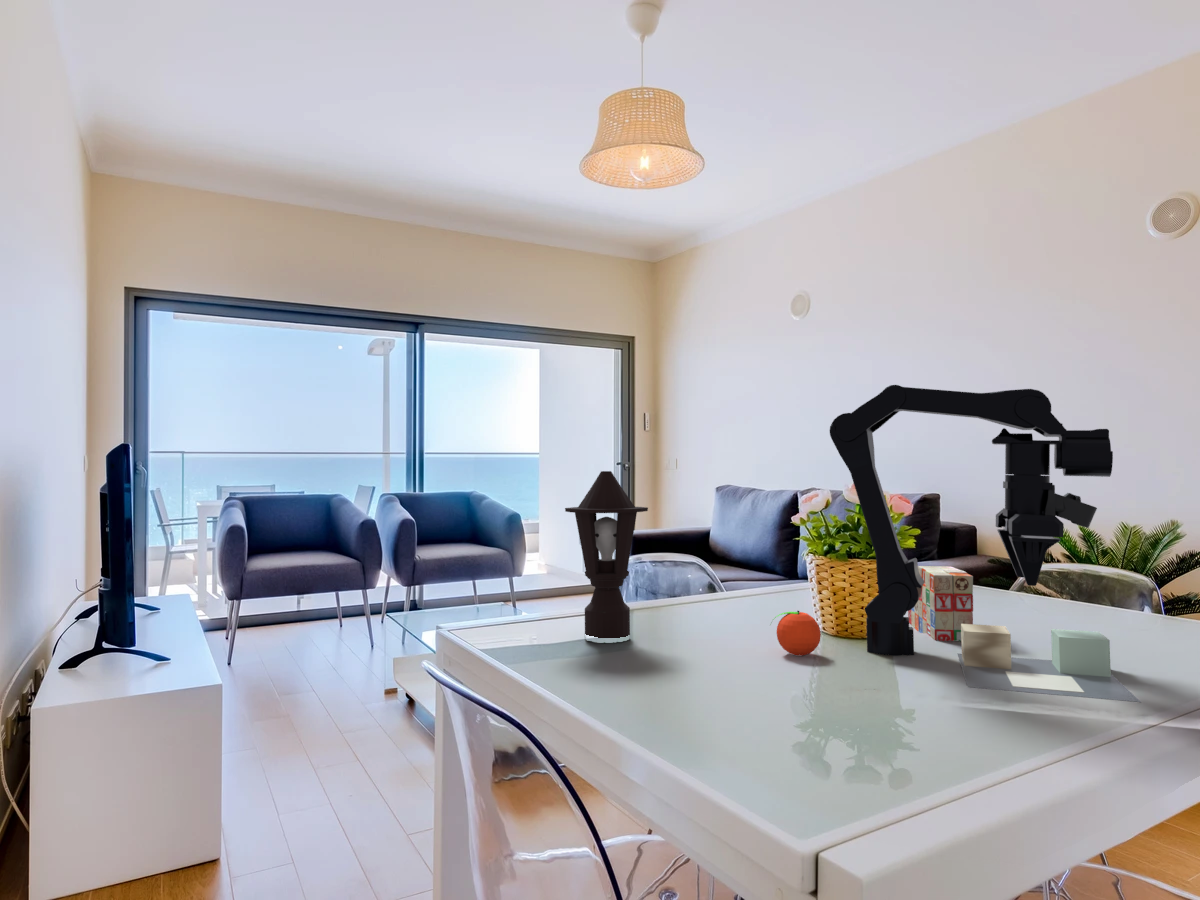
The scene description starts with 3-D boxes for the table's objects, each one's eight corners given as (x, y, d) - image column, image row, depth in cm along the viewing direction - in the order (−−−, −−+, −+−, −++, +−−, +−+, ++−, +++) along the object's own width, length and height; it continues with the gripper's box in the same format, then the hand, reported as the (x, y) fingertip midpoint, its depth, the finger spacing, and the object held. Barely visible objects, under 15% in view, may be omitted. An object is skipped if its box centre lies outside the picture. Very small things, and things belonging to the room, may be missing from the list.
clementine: (767, 658, 119) (767, 613, 119) (772, 648, 126) (771, 605, 126) (820, 661, 117) (819, 615, 117) (822, 651, 123) (821, 608, 123)
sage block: (1060, 673, 105) (1058, 637, 105) (1052, 663, 110) (1051, 628, 111) (1110, 677, 103) (1109, 640, 103) (1100, 666, 108) (1098, 631, 108)
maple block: (964, 665, 109) (963, 631, 109) (961, 656, 115) (960, 623, 115) (1011, 669, 107) (1010, 634, 107) (1006, 659, 113) (1005, 626, 113)
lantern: (563, 631, 141) (562, 471, 142) (641, 629, 143) (639, 471, 144) (569, 649, 126) (567, 471, 127) (655, 646, 128) (653, 470, 129)
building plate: (967, 694, 98) (967, 686, 98) (957, 659, 117) (957, 652, 117) (1141, 710, 91) (1141, 701, 91) (1101, 670, 110) (1100, 663, 110)
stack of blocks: (907, 623, 147) (905, 560, 148) (941, 624, 146) (939, 560, 147) (935, 647, 126) (933, 573, 127) (974, 648, 125) (973, 574, 126)
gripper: (1108, 476, 99) (1107, 595, 99) (1076, 476, 117) (1075, 577, 116) (1012, 474, 103) (1012, 588, 103) (995, 474, 121) (994, 572, 120)
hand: (1026, 581), depth 110 cm, fingers open, 9 cm apart
